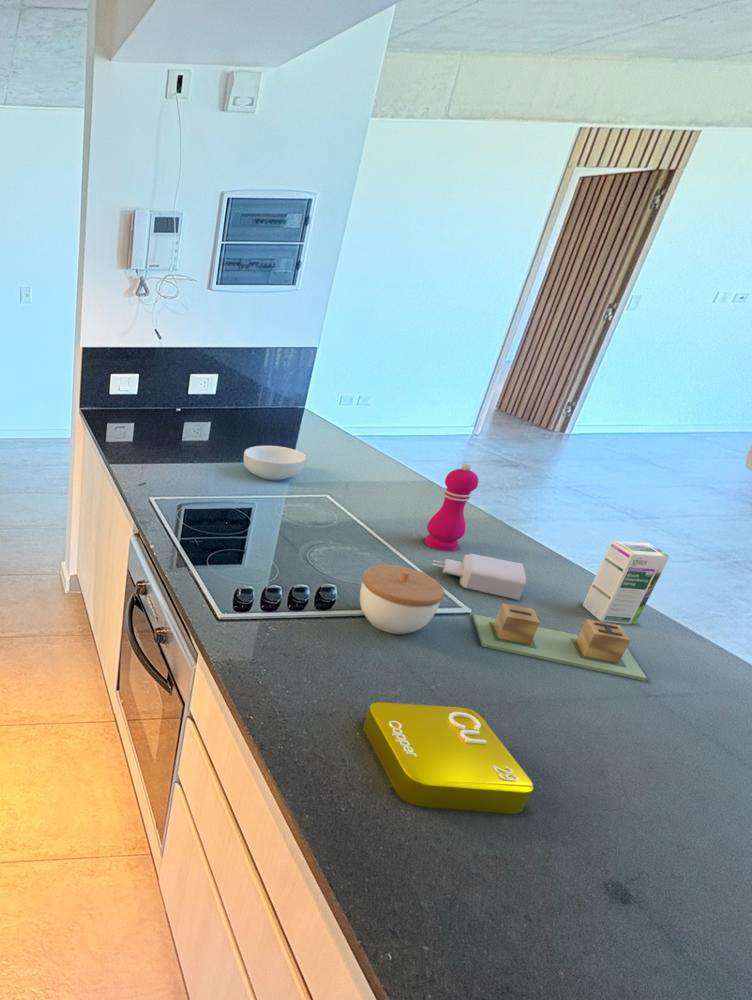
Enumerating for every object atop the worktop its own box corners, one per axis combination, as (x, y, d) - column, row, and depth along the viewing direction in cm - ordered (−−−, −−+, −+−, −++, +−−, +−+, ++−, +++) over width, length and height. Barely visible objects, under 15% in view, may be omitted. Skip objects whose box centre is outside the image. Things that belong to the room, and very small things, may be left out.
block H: (609, 647, 104) (621, 624, 102) (618, 663, 101) (631, 639, 99) (575, 641, 106) (586, 618, 104) (583, 656, 102) (595, 632, 100)
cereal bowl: (297, 469, 186) (301, 446, 183) (306, 489, 172) (311, 465, 169) (239, 465, 190) (242, 443, 187) (242, 484, 175) (246, 460, 172)
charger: (430, 563, 133) (514, 582, 126) (428, 582, 126) (518, 602, 119) (436, 544, 131) (522, 561, 124) (435, 562, 124) (526, 581, 117)
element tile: (358, 722, 90) (365, 697, 88) (465, 729, 89) (476, 704, 87) (402, 807, 77) (412, 780, 75) (529, 817, 76) (544, 789, 74)
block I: (524, 630, 109) (533, 608, 107) (530, 644, 105) (540, 621, 103) (493, 624, 111) (502, 602, 109) (498, 638, 107) (507, 615, 105)
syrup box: (600, 623, 113) (634, 553, 106) (580, 606, 118) (611, 538, 111) (635, 626, 112) (672, 556, 105) (613, 608, 117) (647, 541, 111)
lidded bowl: (445, 643, 108) (465, 589, 103) (376, 646, 107) (392, 592, 102) (402, 604, 119) (417, 554, 114) (339, 606, 118) (352, 556, 113)
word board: (622, 648, 106) (624, 643, 106) (644, 683, 98) (647, 677, 97) (472, 618, 114) (474, 613, 114) (481, 648, 106) (483, 642, 106)
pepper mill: (427, 536, 145) (453, 455, 136) (462, 546, 141) (491, 463, 132) (417, 546, 141) (443, 463, 132) (453, 556, 136) (483, 471, 127)
